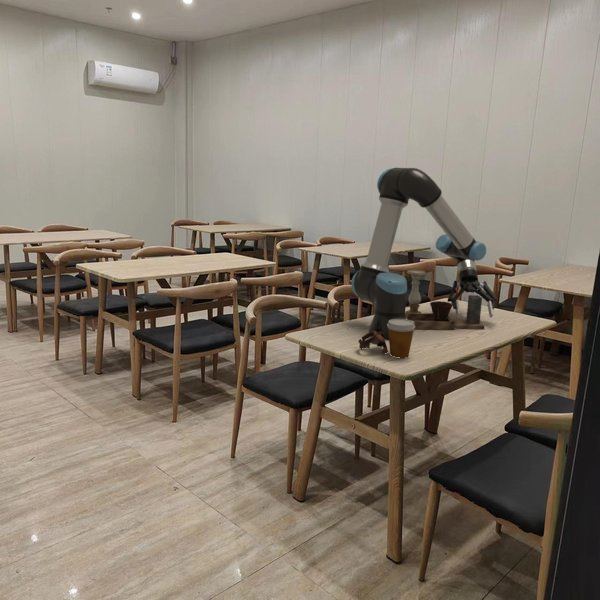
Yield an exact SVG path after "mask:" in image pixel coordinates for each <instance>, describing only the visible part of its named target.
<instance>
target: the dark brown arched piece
mask: <svg viewBox="0 0 600 600" xmlns="http://www.w3.org/2000/svg"><path fill="white" fill-rule="evenodd" d="M358 344H359V347H358V348H359V349H360V350H362V348H363V349H368V350H370V349H371V347H370V346H371V345H376V346H377V347H380V348H382V352H383V354H384V353H387V352H389V350H388V346H387V342H386V339H385V335H384V334H383V333H382V332H378V333H377V332H376V331H373V332H369V331H368V332H367V333H366V334H364V335H363V336H361V338H360V339H358ZM387 354H388V353H387Z"/></svg>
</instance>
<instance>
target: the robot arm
mask: <svg viewBox="0 0 600 600" xmlns="http://www.w3.org/2000/svg"><path fill="white" fill-rule="evenodd" d="M376 187H377V190H378V193H379V196H378V200H379V202H380V207H379V212H378V215H377V219H376V223H375V227H374V230H373V235H372V238H371V242H370V246H369V250H368V253H367V257H366V261H365V262H363V263H362V264H361V265H360V267H359V270H358V271H357V272H356V273H354V275H353V276H352V279H351V282H350V285H351V290H352V292H353V294H354V295H355V296H356V297H358V298H359V299H361V300H363V301H367V302H370V303H372V304H374V314H373V317H372V320H371V323H370V326H369V328H368V330H369V331H368V333H369V332H373V331H376V332H377V333H378V332H382V333H383V334H384V335H385V340H386V339H389V331H388V326H387V324H388V322H389V320H392V319H406V320H407V318H406V317H405V313H406V307H407V296H408V295H407V293H408V281H407V278H406V277H404V276H403V275H401V274H398V273H393V272H390V271H389V269H388V264H389V260H390V257H391V253H392V248H393V245H394V241H395V238H396V234H397V230H398V227H399V223H400V220H401V215H402V211H403V209H405V208H406V207H407V206H408V205H409V201H410V200H412V201H414V202H415V203H417V204H418V205H419V206H420V208H423V209H426V211H427V212H428V214H430V216H431V217H432V218H433V219H434V220H435V222H436V223H437V225H438V226H439V227H440V228H441V230H442V231H443V232H444V234H441V235H440V236H439V237H438V238H437V239H436V242H435V248H436V250H437V251H439V252H440V253H441V254H444V255H446V256H448V257H450V258H451V259H453V260H455V261H456V265H457V272H458V278H459V282H458V281H457V280H454V281H453V283H452V289H451V291H450V294H449V295H448V298H447V301H446V302H448V303H451V304H453V306H452V308H453V310H455V315H456V317H457V318H459V317H460V315H461V310H460V302H459V300H458V299H459V298H460V297H461V296H462V295H463V294H464V293H465V292H466V293H475V294H476V295H478V296H480V297H481V298H482V300H485V301H486V302H487V308H488V315H489V316H488V317H489V318H493V316H494V310H495V304H494V303H496V302H497V301H498V297H497V296H496V295H495V293H494V291H493V290H492V289H491V288H490V287H489V286H488V283H487V281H485V280H484V281H483V282H480V281H479V277H478V272H477V266H476V265H477V264H476V262H475V261H481V260H483V259H484V258H485V256H486V254H487V247H486V245H485V243H483V242H480V241H477V240H476V239H475V238H474V236H473V235H472V234H471V232H470V231H469V230H468V228H467V227H466V226H465V224H464V223H463V222H462V221H461V219H460V218H459V217H458V215H457V214H456V213H455V211H454V210H453V208H451V206H450V205H449V203H448V201H446V200H445V198H444V197H443V194H442V193H443V192H442V189H441V188H440V187H439V185H438V184H437V183H436V182H435V181H434V179H432V178H431V176H429V175H428V174H427V173H426V172H425V171H423V170H421V169H418V168H416V167H393V168H387V169H386V170H385V171H383V172H382V173H381V174H380V175H379V178H378V179H377V184H376ZM459 287H460V288H461V289H460V290H459V291H458V292H457V293H456V295H455V296H454V293H455V292H456V290H457V288H459ZM453 296H454V297H453Z"/></svg>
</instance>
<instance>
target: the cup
mask: <svg viewBox="0 0 600 600" xmlns="http://www.w3.org/2000/svg"><path fill="white" fill-rule="evenodd" d="M429 306H430V308H431V311H432V313H433V317H434V321H439V322H446V321H447V318H448V316H449V315H450V312H451V310H452V308H453V304H452V303H451V302H448V301H441V300H438V301H436V300H435V301H431V302H430V303H429Z"/></svg>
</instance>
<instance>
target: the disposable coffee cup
mask: <svg viewBox="0 0 600 600" xmlns="http://www.w3.org/2000/svg"><path fill="white" fill-rule="evenodd" d="M413 321H414V320H407V318H406V319H392V320H389V322H388V324H387V326H388V331H389V341H388V343H389V345H388V346H389V355H390V354H391V355H392V356H395V357H400V358H399V359H401V358H402V359H406V358H405V357H407V358H409V357H410V351H411V345H412V341H413V336H414V331H415V330H416V329H415V325H414V322H413ZM392 356H391V357H392Z"/></svg>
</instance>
